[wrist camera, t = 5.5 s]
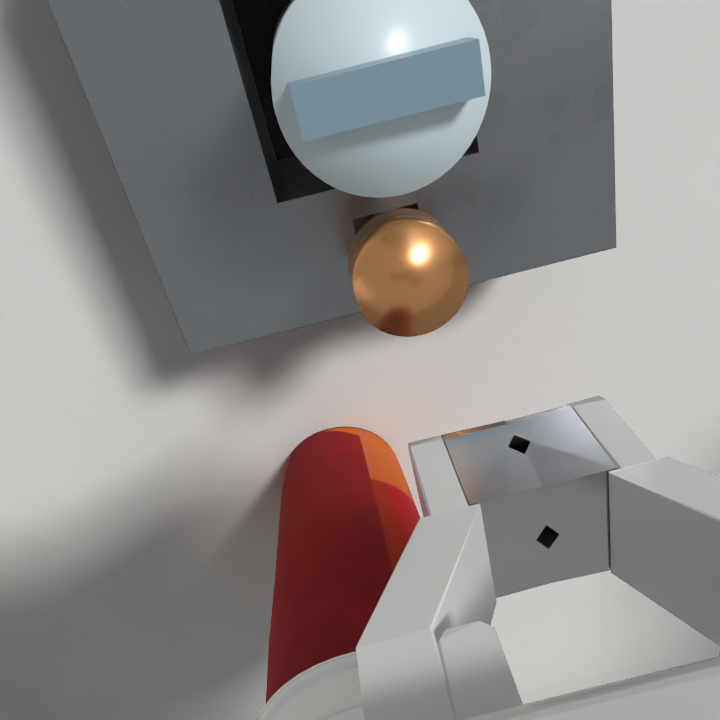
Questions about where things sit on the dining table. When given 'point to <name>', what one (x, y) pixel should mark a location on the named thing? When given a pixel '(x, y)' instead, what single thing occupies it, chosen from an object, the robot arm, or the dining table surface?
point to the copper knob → (407, 272)
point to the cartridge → (379, 89)
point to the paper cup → (332, 569)
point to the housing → (312, 195)
